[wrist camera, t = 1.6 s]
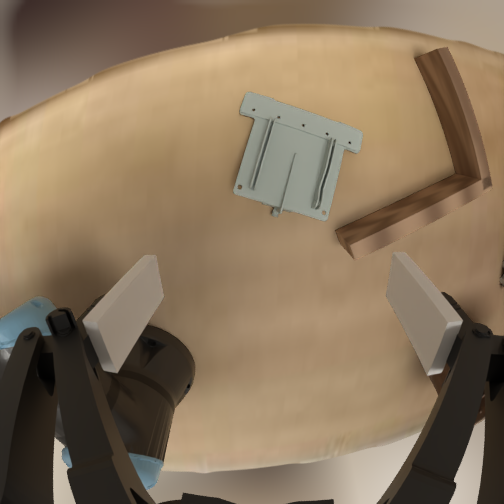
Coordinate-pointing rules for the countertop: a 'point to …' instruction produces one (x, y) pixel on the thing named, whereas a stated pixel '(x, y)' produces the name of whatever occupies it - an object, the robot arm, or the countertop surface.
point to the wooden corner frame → (444, 192)
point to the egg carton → (502, 278)
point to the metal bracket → (292, 157)
